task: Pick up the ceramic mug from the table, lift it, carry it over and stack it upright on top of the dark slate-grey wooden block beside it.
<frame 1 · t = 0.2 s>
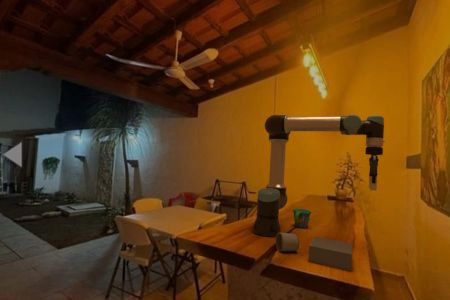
hand: (372, 189, 125), 28 cm above the table, tool pointing down, fingers open, 13 cm apart
slate block: (330, 259, 102), on the table
snack cup: (301, 227, 154), on the table
ceramic mug: (285, 250, 110), on the table
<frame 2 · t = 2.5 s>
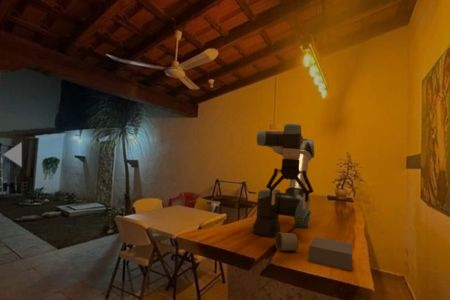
hand: (288, 206, 111), 19 cm above the table, tool pointing down, fingers open, 13 cm apart
nothing on the table moved.
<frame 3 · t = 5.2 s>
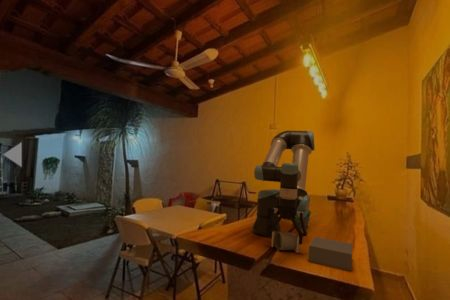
hand: (285, 248, 110), 0 cm above the table, tool pointing down, fingers closed on ceramic mug, 10 cm apart
ceramic mug: (283, 249, 112), on the table, touching gripper
everything else where it was.
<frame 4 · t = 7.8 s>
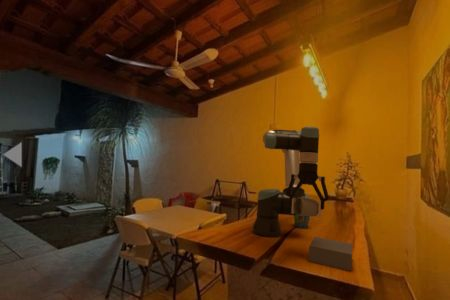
hand: (306, 215, 107), 16 cm above the table, tool pointing down, fingers closed on ceramic mug, 10 cm apart
ceramic mug: (304, 215, 108), point 16 cm above the table, touching gripper
everything else where it was.
when the fingers open (8 cm above the table, at t = 10.9 s): ceramic mug drops 1 cm, resting on slate block.
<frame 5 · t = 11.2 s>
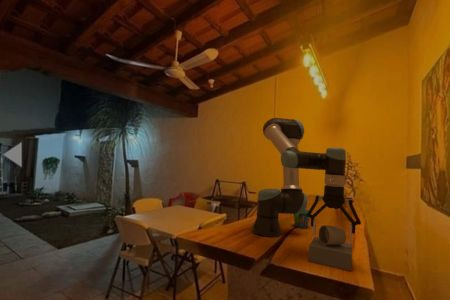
hand: (331, 238, 102), 9 cm above the table, tool pointing down, fingers open, 13 cm apart
ceramic mug: (329, 244, 103), point 6 cm above the table, touching slate block
everything else where it was.
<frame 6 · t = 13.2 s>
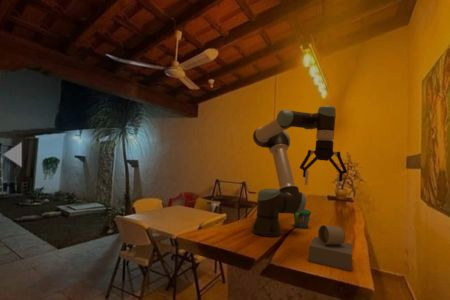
hand: (321, 186, 115), 28 cm above the table, tool pointing down, fingers open, 13 cm apart
nothing on the table moved.
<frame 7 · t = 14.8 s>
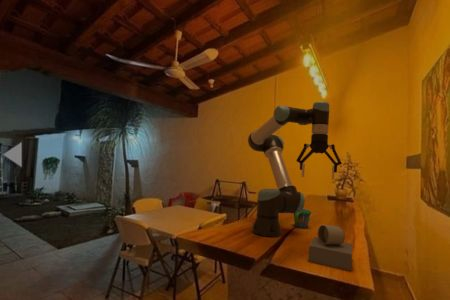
hand: (317, 178, 120), 32 cm above the table, tool pointing down, fingers open, 13 cm apart
nothing on the table moved.
at the end: ceramic mug inside the target area on the slate block (2.0 cm from its centre), point 5.8 cm above the slate block's base; ceramic mug tilted 0°; the gripper is holding nothing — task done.
